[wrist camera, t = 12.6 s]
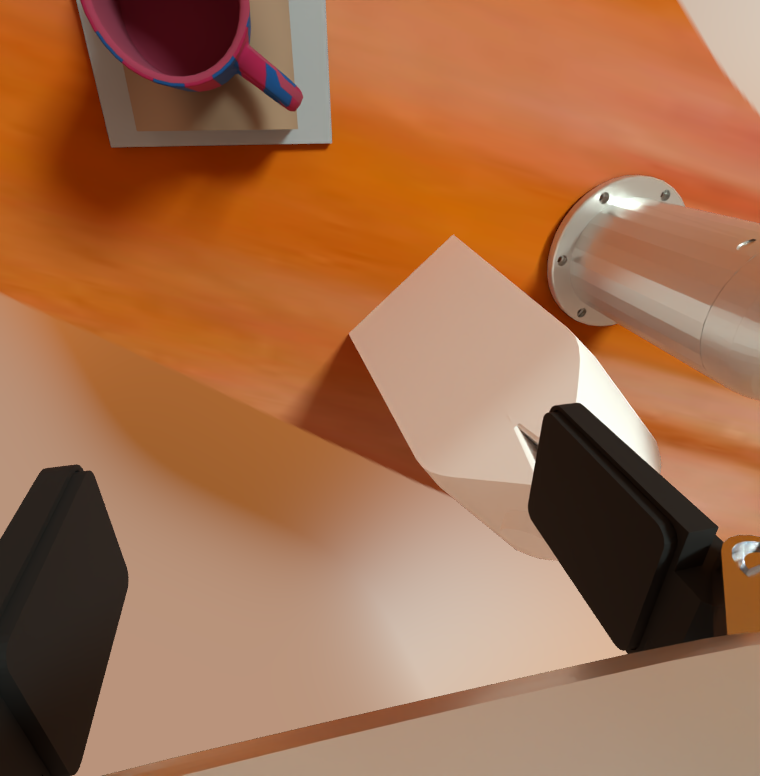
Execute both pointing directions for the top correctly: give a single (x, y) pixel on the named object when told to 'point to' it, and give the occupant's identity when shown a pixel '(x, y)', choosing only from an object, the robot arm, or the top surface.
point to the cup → (188, 44)
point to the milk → (484, 384)
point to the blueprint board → (311, 118)
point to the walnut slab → (223, 87)
